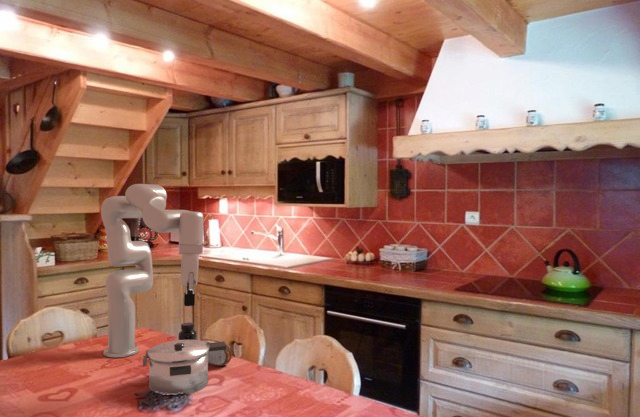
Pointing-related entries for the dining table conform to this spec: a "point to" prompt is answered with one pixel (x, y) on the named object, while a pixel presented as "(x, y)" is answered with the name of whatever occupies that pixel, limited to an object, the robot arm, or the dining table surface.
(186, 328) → the supplement bottle
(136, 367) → the dining table surface
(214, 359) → the tin
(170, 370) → the cooker pot
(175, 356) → the cooker lid
